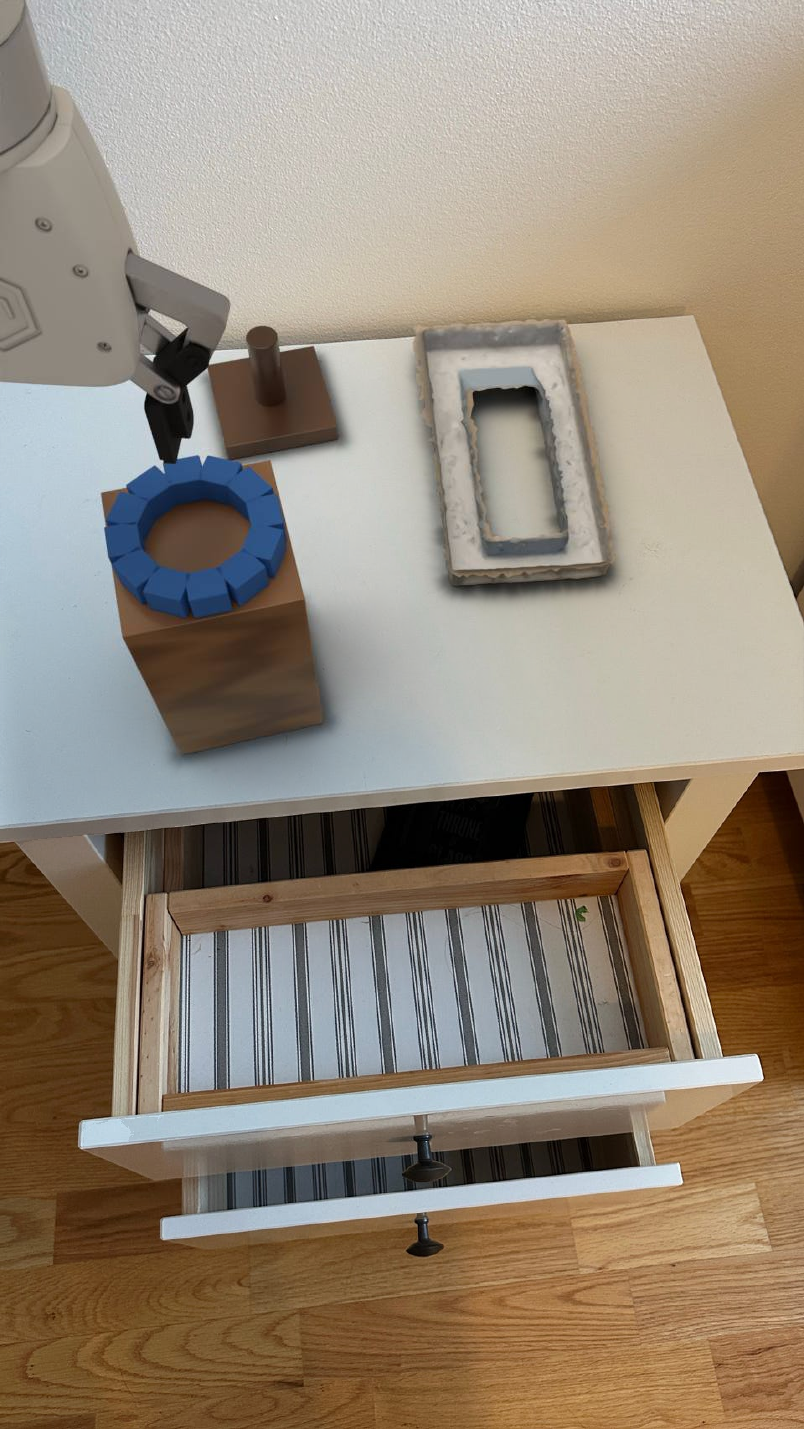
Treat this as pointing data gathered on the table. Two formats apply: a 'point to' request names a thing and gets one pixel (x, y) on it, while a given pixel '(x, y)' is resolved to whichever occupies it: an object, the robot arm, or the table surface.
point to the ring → (206, 586)
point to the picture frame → (548, 364)
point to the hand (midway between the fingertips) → (76, 434)
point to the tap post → (271, 398)
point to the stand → (222, 636)
